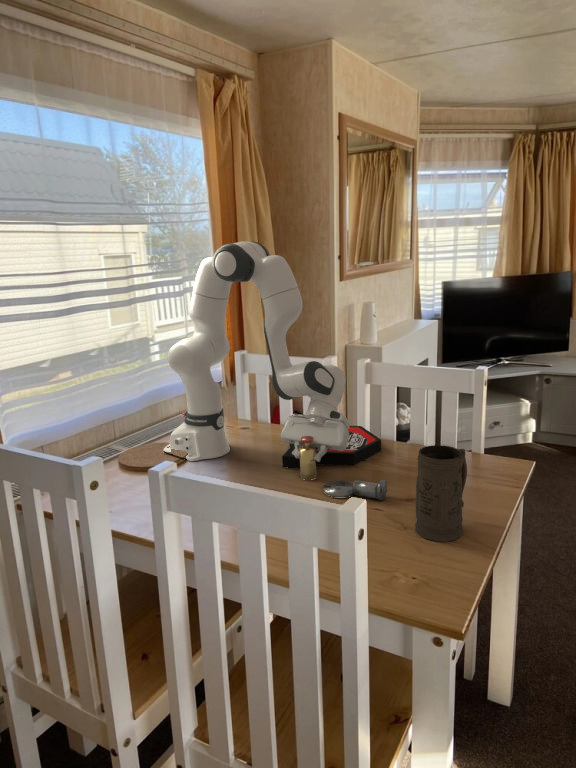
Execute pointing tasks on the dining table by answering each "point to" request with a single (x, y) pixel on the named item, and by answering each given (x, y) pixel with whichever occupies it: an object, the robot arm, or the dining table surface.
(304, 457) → the valve
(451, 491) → the beer stein
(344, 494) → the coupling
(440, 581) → the dining table surface
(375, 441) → the decorative sign
